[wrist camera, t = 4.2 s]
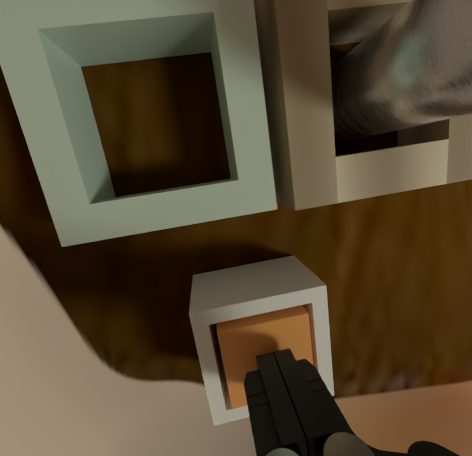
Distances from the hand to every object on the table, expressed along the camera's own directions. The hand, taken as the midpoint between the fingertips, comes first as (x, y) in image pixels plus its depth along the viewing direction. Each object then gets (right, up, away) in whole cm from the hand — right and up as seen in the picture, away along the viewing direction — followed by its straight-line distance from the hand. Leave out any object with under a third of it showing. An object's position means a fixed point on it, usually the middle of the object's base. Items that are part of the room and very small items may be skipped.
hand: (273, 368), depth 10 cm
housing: (-1, +1, +4) cm, 5 cm away
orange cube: (-1, +1, +4) cm, 4 cm away
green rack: (-5, +11, +2) cm, 12 cm away
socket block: (+4, +13, +2) cm, 14 cm away
